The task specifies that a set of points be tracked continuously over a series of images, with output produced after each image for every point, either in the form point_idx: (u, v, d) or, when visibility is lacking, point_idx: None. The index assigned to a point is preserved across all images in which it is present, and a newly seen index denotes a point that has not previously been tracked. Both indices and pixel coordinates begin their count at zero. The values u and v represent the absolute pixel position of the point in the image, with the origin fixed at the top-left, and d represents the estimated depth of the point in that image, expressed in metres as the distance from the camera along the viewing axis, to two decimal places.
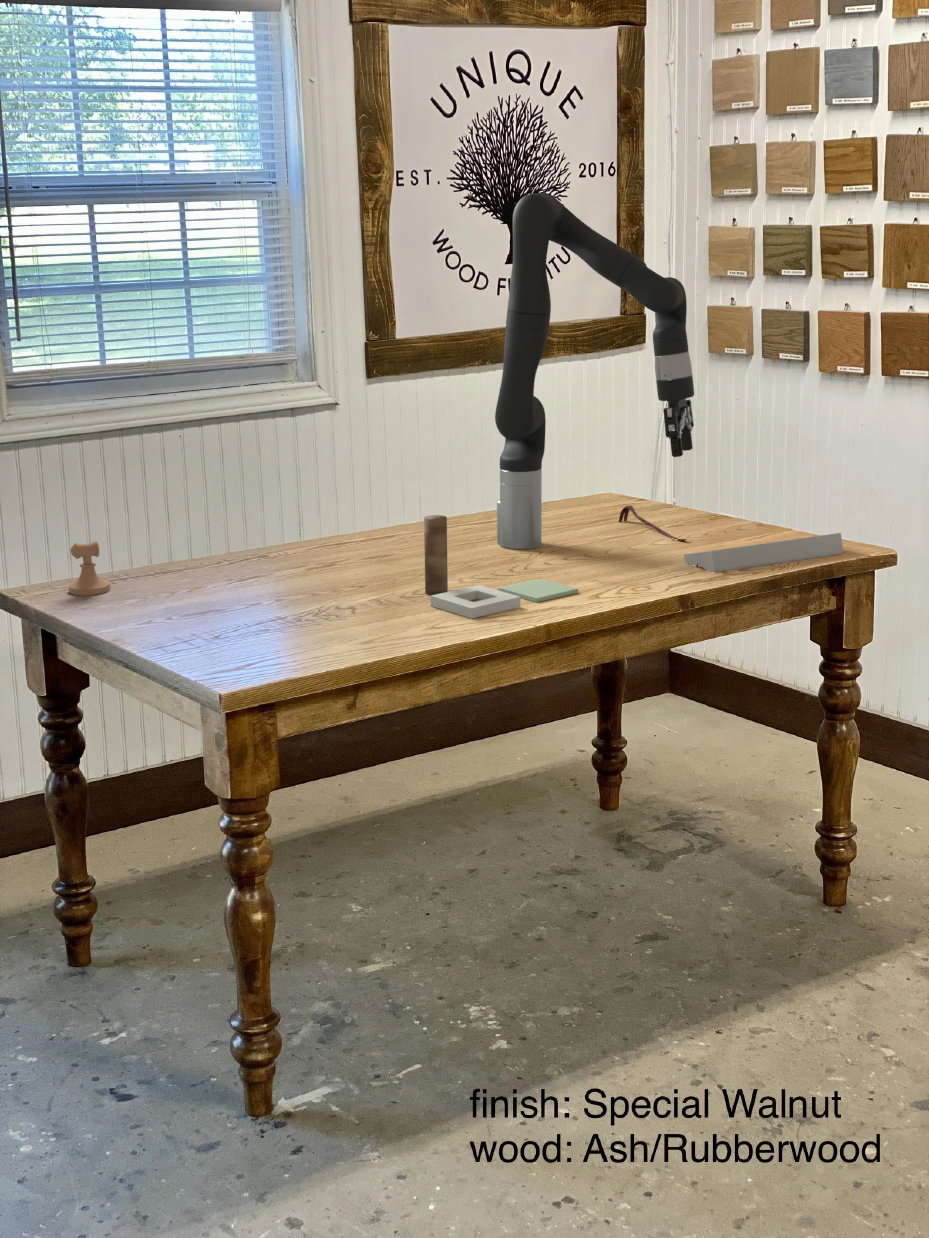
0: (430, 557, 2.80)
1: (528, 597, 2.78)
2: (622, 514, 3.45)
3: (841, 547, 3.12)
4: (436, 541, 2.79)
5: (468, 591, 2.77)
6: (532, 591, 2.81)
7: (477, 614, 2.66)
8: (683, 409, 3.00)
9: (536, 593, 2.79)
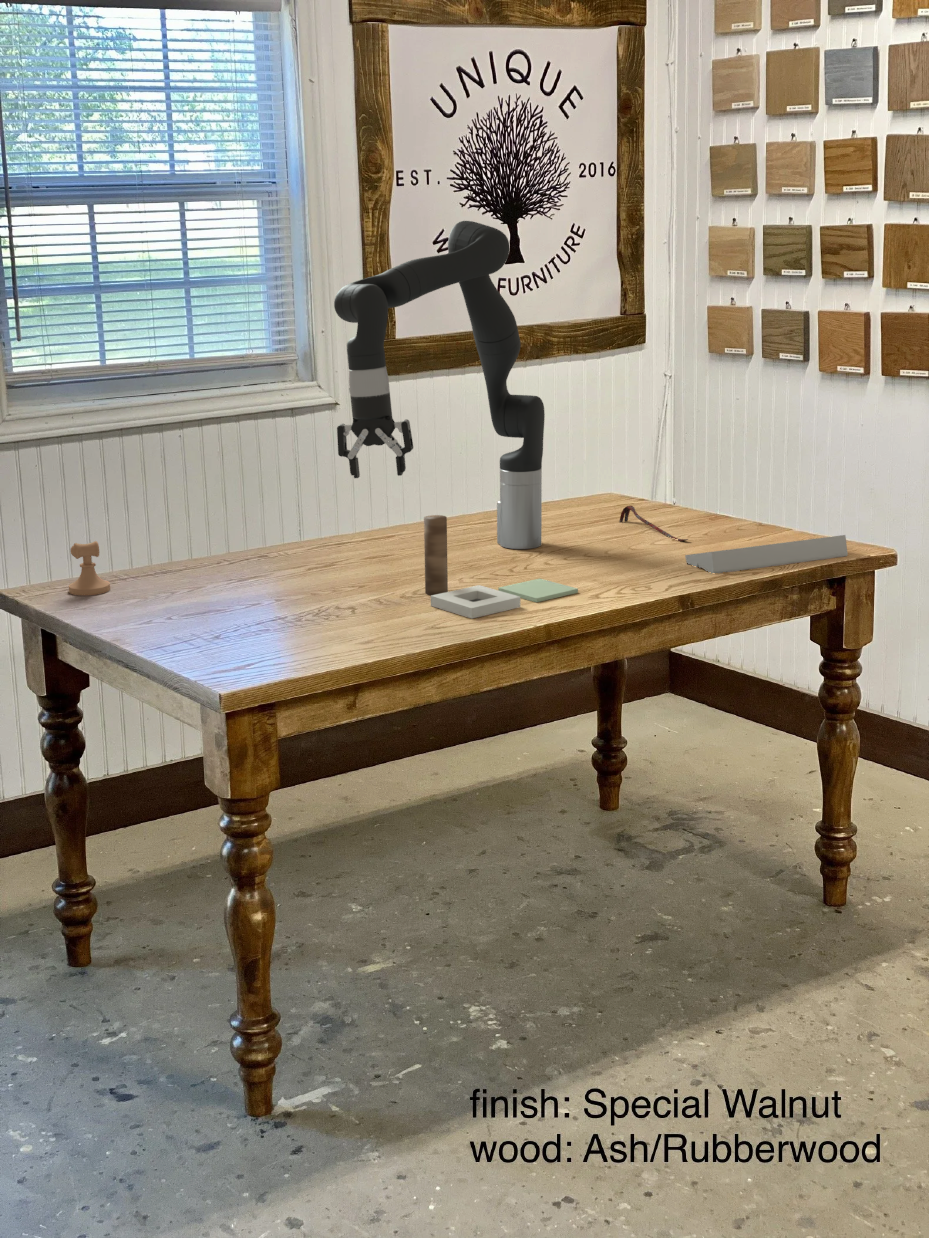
0: (430, 557, 2.80)
1: (528, 597, 2.78)
2: (623, 514, 3.45)
3: (846, 549, 3.10)
4: (436, 541, 2.79)
5: (468, 591, 2.77)
6: (532, 591, 2.81)
7: (477, 614, 2.66)
8: (362, 430, 2.75)
9: (536, 593, 2.79)
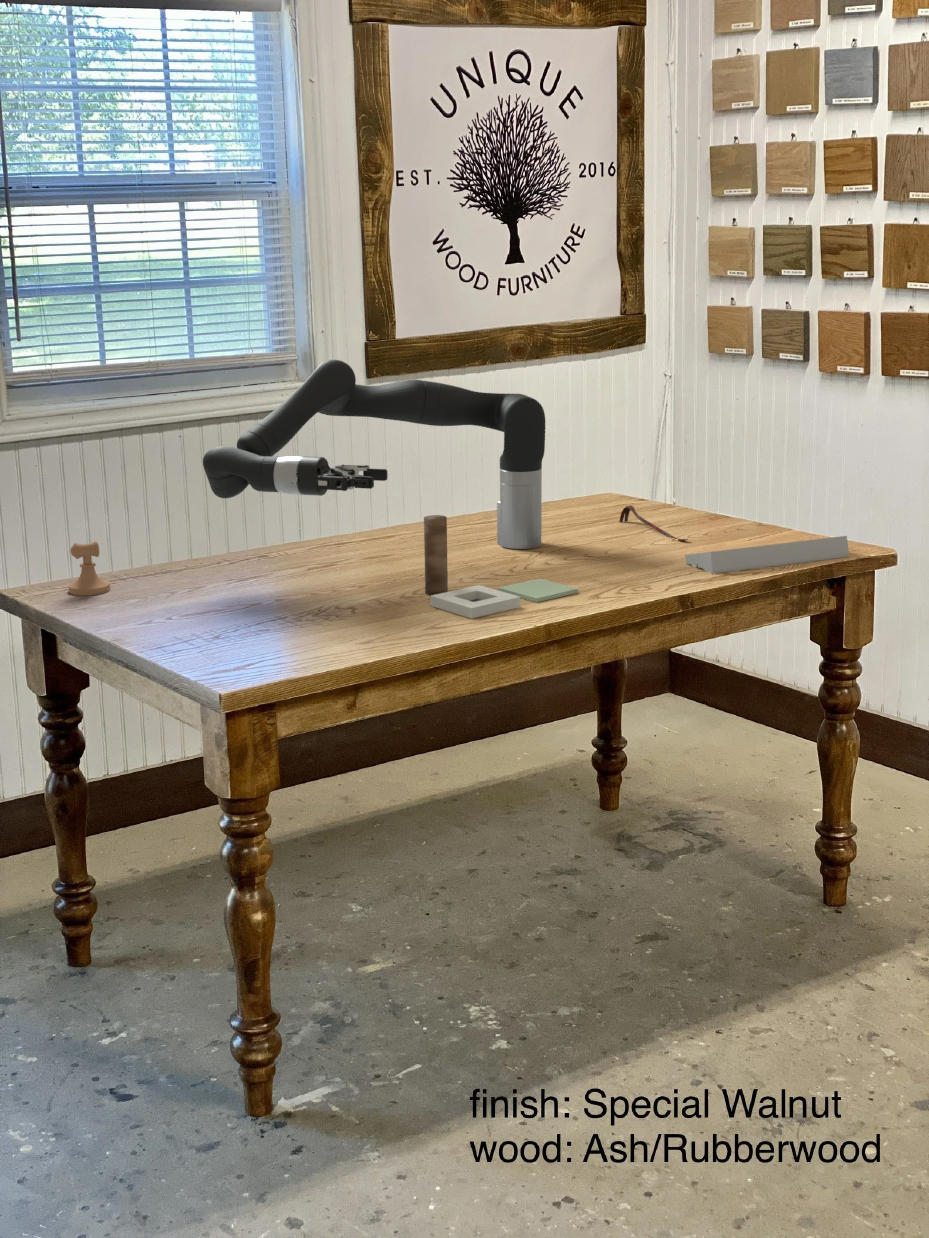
0: (430, 557, 2.80)
1: (528, 597, 2.78)
2: (623, 514, 3.45)
3: (847, 550, 3.09)
4: (436, 541, 2.79)
5: (468, 591, 2.77)
6: (532, 591, 2.81)
7: (477, 614, 2.66)
8: (331, 470, 2.81)
9: (536, 593, 2.79)
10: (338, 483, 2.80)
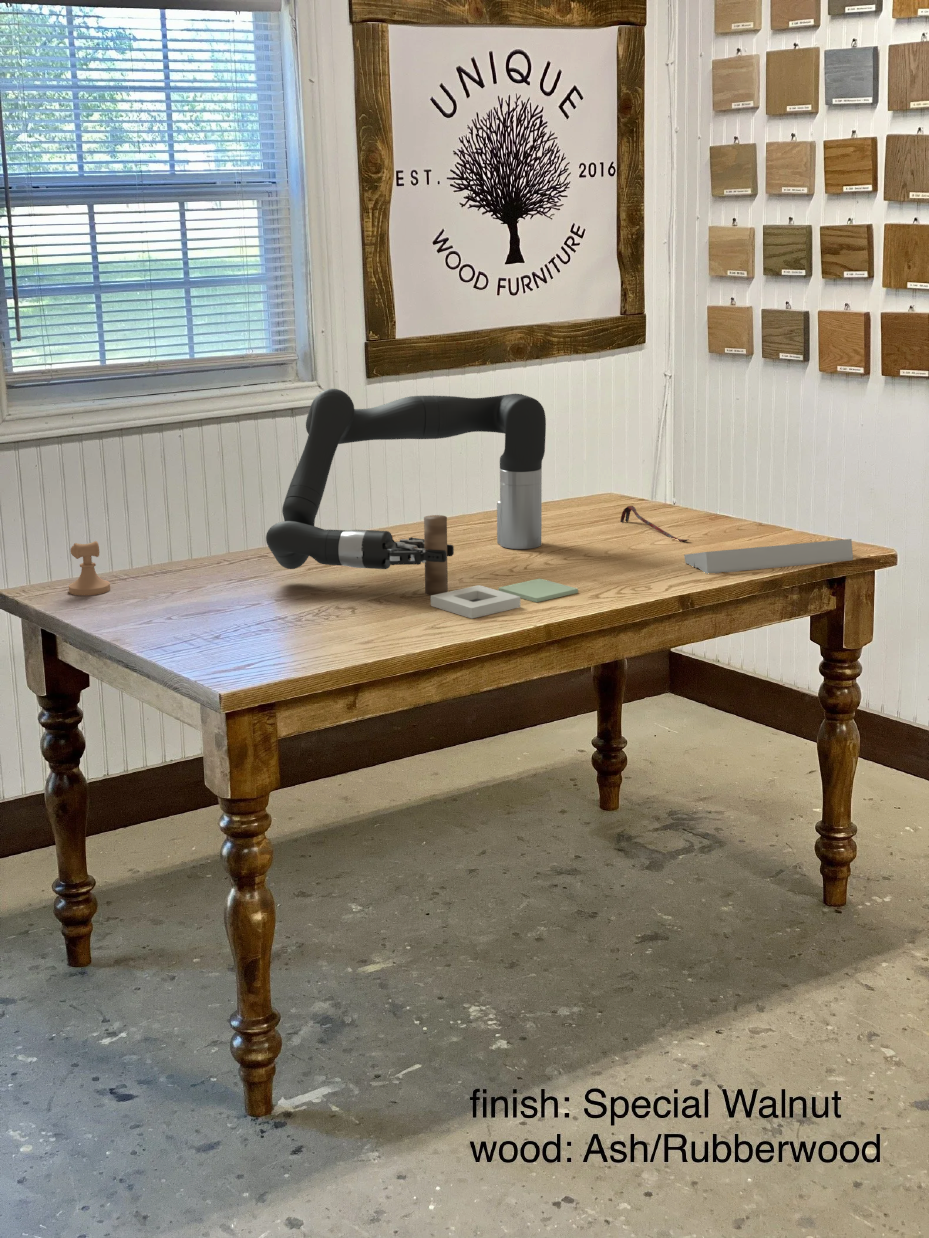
0: None
1: (528, 597, 2.78)
2: (624, 514, 3.45)
3: (851, 553, 3.06)
4: (436, 541, 2.79)
5: (468, 591, 2.77)
6: (532, 591, 2.81)
7: (477, 614, 2.66)
8: (396, 544, 2.82)
9: (536, 593, 2.79)
10: None
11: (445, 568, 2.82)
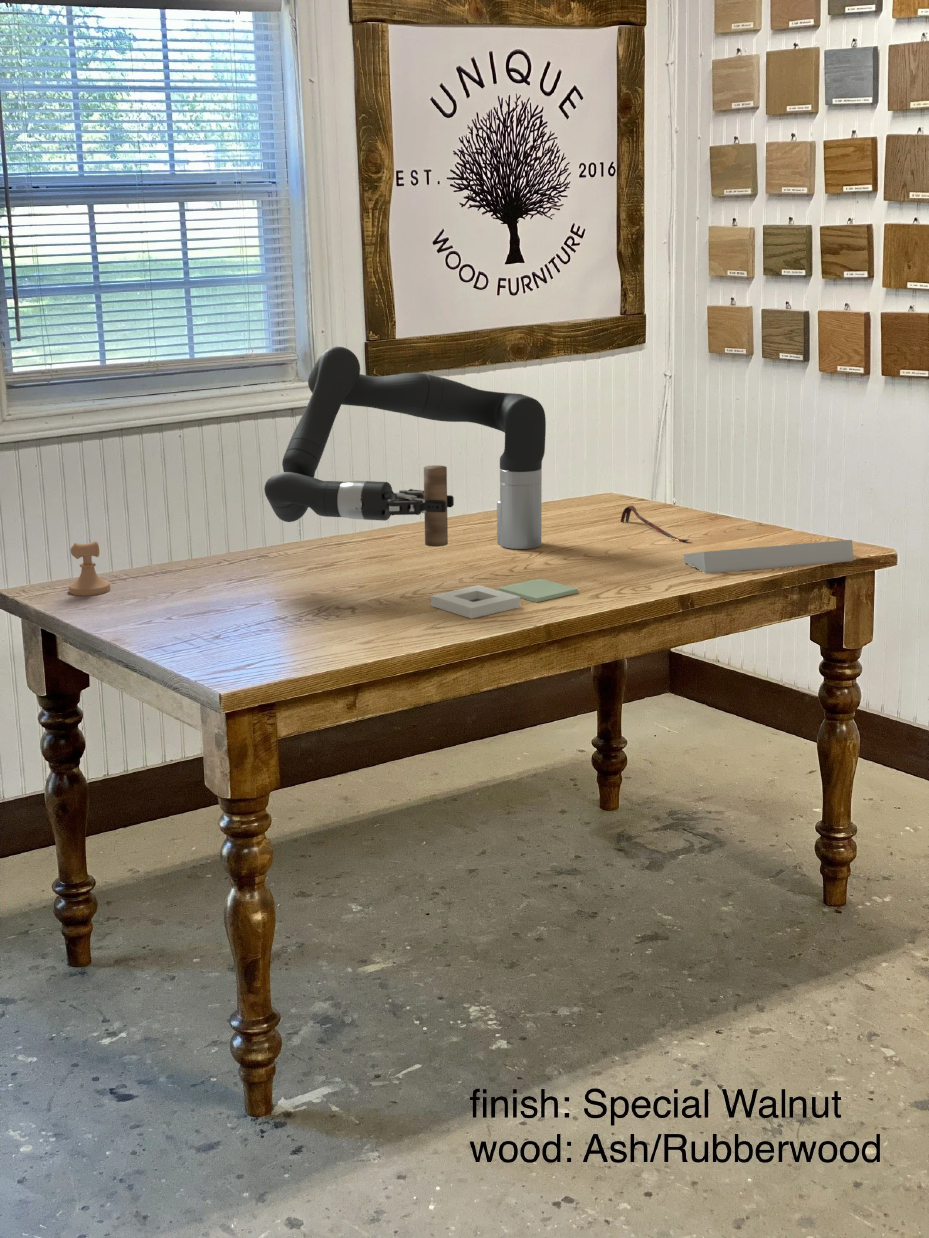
0: None
1: (528, 597, 2.78)
2: (624, 514, 3.45)
3: (851, 554, 3.05)
4: (436, 491, 2.76)
5: (468, 591, 2.77)
6: (532, 591, 2.81)
7: (477, 614, 2.66)
8: (396, 495, 2.79)
9: (536, 593, 2.79)
10: (406, 508, 2.79)
11: (445, 519, 2.79)
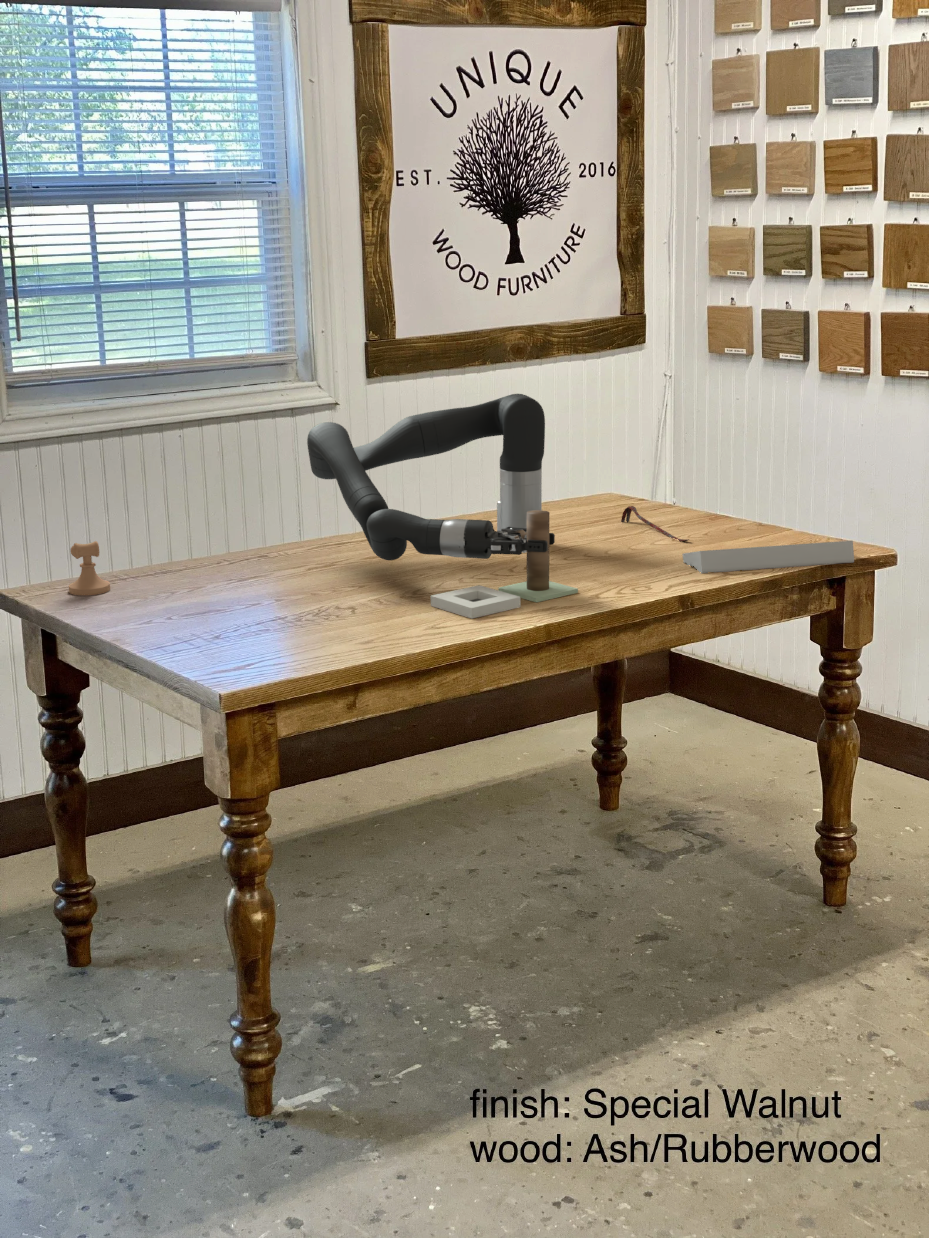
0: (533, 552, 2.79)
1: (528, 597, 2.78)
2: (624, 514, 3.45)
3: (852, 555, 3.04)
4: (540, 536, 2.78)
5: (468, 591, 2.77)
6: (532, 591, 2.81)
7: (477, 614, 2.66)
8: (498, 533, 2.81)
9: (536, 593, 2.79)
10: None
11: (547, 563, 2.81)
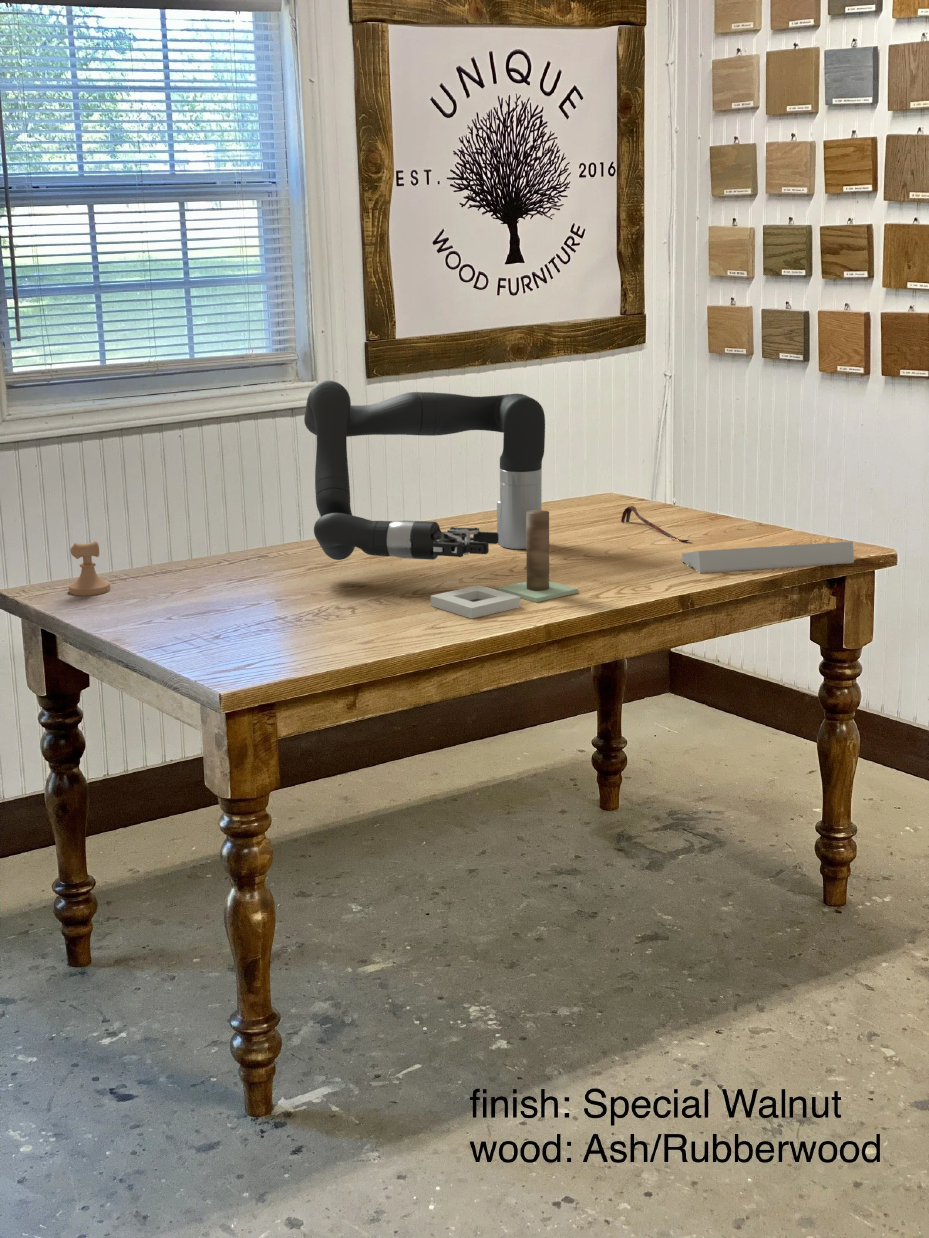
0: (533, 552, 2.80)
1: (528, 597, 2.78)
2: (624, 514, 3.45)
3: (852, 556, 3.03)
4: (539, 536, 2.78)
5: (468, 591, 2.77)
6: (532, 591, 2.81)
7: (477, 614, 2.66)
8: (444, 535, 2.84)
9: (536, 593, 2.79)
10: (452, 548, 2.83)
11: (547, 563, 2.81)
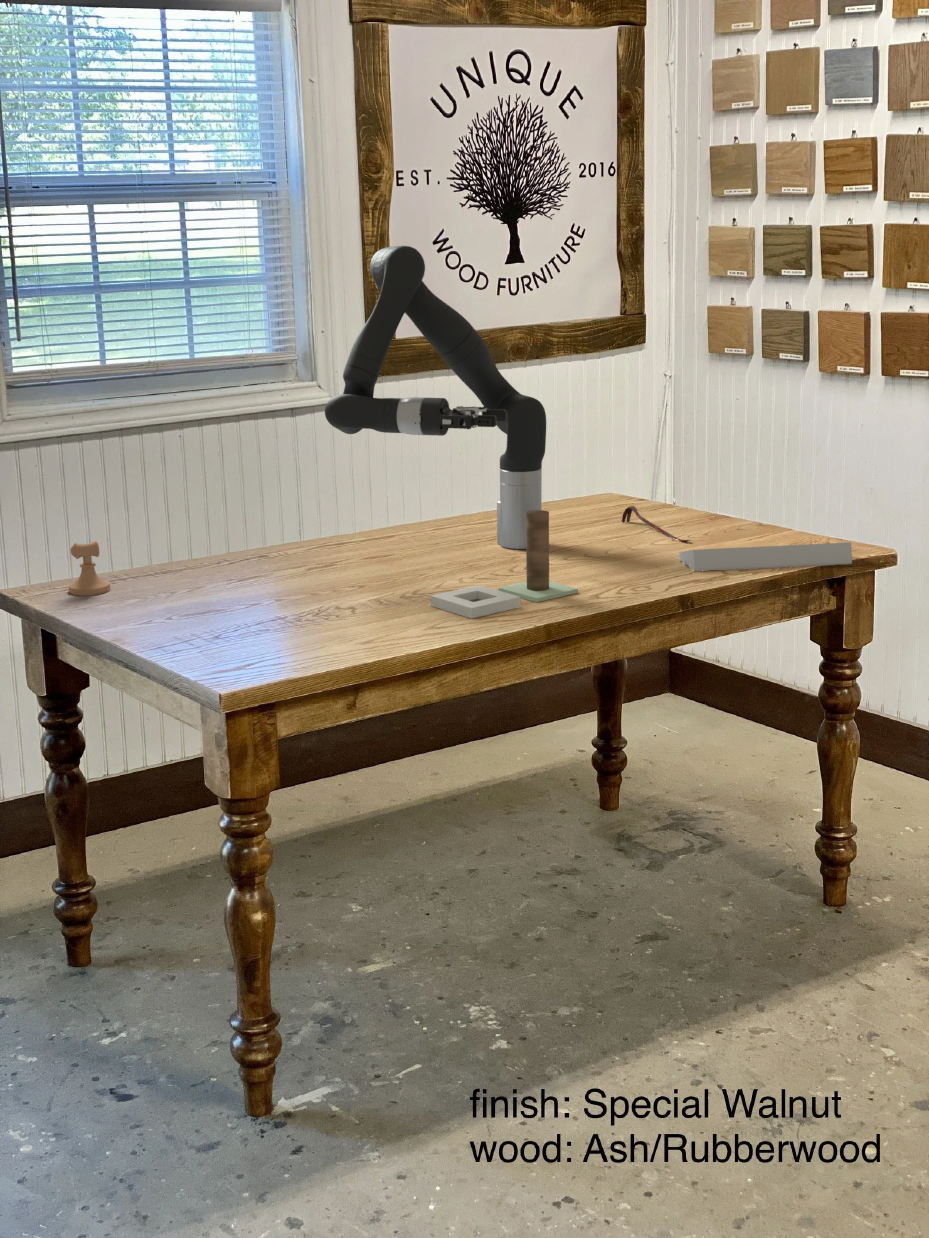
0: (532, 552, 2.80)
1: (528, 597, 2.78)
2: (625, 515, 3.44)
3: (850, 557, 3.03)
4: (539, 536, 2.78)
5: (468, 591, 2.77)
6: (532, 591, 2.81)
7: (477, 614, 2.66)
8: (453, 410, 2.89)
9: (536, 593, 2.79)
10: (460, 422, 2.88)
11: (547, 563, 2.81)
